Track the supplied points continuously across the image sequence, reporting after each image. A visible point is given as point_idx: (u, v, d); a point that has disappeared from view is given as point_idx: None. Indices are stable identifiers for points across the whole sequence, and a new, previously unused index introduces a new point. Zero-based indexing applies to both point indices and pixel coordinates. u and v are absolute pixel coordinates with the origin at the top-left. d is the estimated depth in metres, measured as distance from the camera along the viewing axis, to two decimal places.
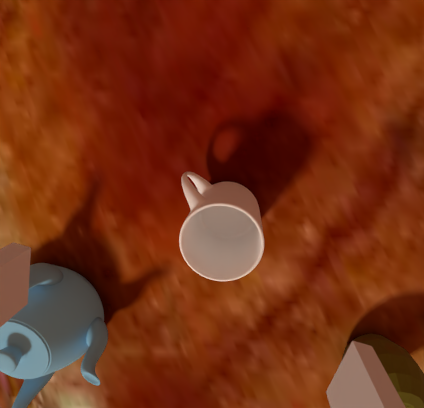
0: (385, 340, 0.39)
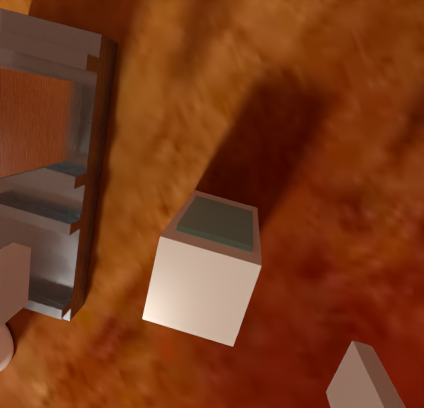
0: None
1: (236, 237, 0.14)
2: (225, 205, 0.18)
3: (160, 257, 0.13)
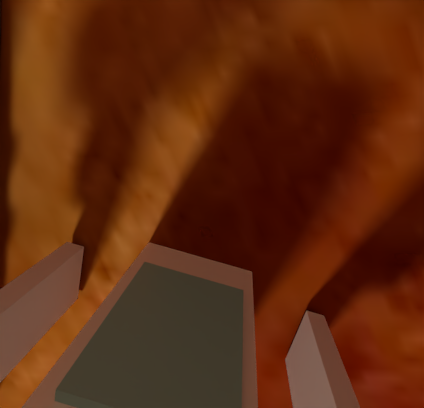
0: None
1: None
2: (195, 281, 0.10)
3: None
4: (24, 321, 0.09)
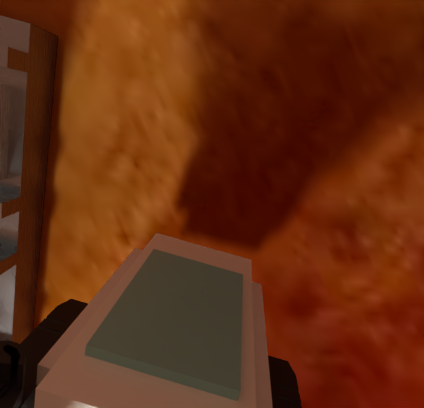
0: None
1: (208, 364, 0.07)
2: (200, 266, 0.11)
3: None
4: None
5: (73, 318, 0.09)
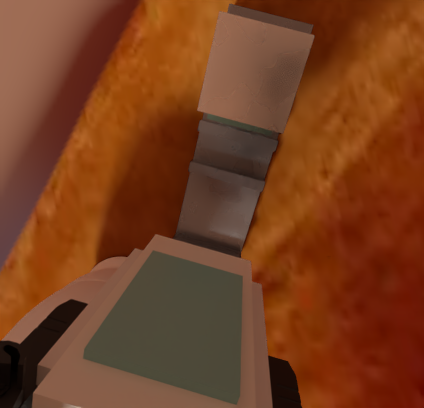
0: None
1: (207, 367, 0.07)
2: (199, 267, 0.11)
3: None
4: None
5: (73, 318, 0.09)
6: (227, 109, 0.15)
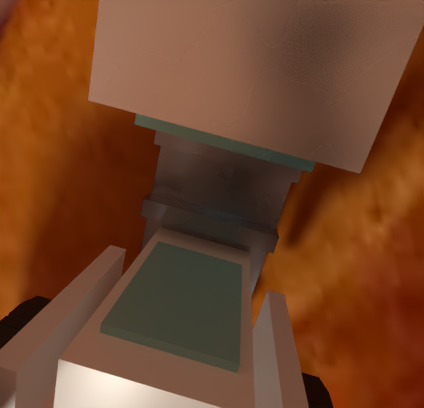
0: None
1: (210, 341, 0.08)
2: (202, 257, 0.12)
3: (64, 393, 0.07)
4: (82, 320, 0.10)
5: None
6: (180, 97, 0.04)
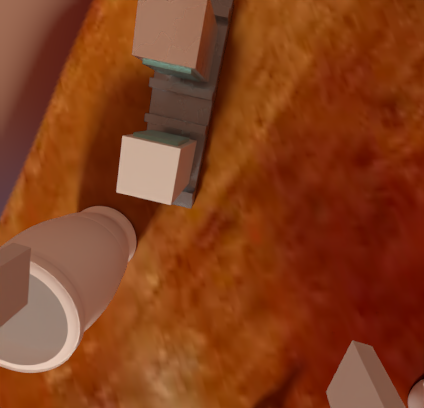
0: None
1: (169, 139, 0.23)
2: (171, 134, 0.27)
3: (123, 149, 0.22)
4: None
5: None
6: (153, 52, 0.20)
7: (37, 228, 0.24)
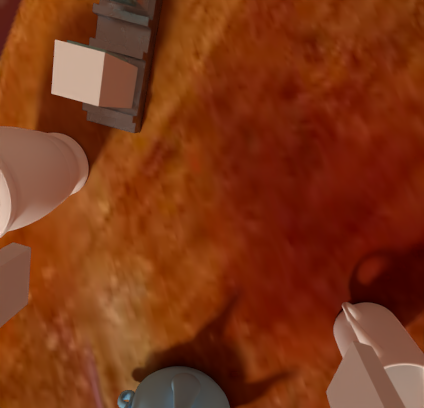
0: None
1: (99, 48, 0.26)
2: None
3: (56, 52, 0.25)
4: None
5: None
6: None
7: None
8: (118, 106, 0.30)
